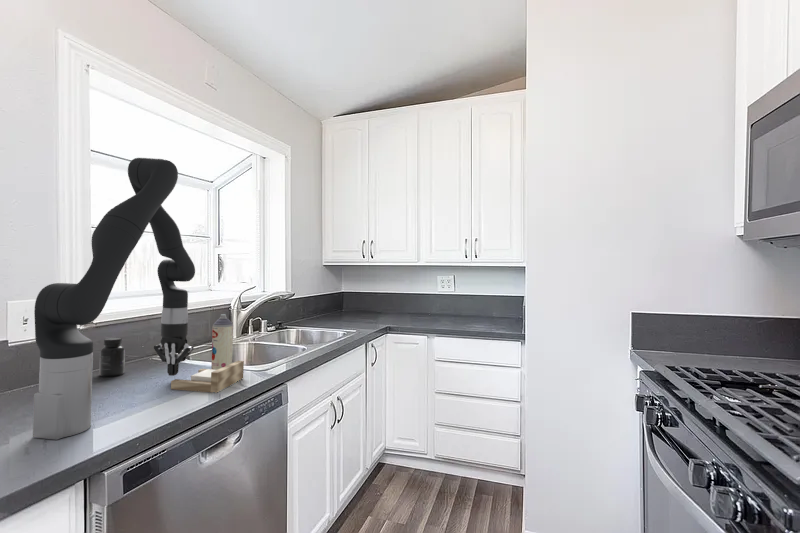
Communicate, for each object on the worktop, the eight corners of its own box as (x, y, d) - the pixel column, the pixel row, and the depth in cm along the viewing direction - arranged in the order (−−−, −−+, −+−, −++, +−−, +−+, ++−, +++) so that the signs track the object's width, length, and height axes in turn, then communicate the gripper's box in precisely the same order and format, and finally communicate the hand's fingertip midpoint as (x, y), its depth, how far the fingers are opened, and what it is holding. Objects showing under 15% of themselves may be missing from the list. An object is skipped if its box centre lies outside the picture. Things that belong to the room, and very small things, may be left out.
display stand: (216, 392, 119) (217, 372, 119) (170, 389, 122) (171, 369, 122) (243, 378, 134) (243, 361, 134) (201, 375, 136) (202, 358, 136)
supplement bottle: (128, 374, 136) (129, 338, 136) (104, 378, 130) (105, 341, 130) (118, 370, 140) (119, 336, 140) (95, 374, 134) (96, 338, 134)
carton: (212, 390, 123) (212, 377, 123) (190, 388, 124) (191, 375, 124) (227, 382, 130) (227, 370, 130) (207, 381, 132) (207, 369, 132)
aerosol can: (209, 368, 146) (211, 313, 145) (230, 366, 149) (231, 313, 149) (212, 373, 140) (214, 316, 140) (233, 371, 144) (235, 315, 143)
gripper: (147, 321, 127) (145, 376, 127) (185, 324, 125) (183, 379, 125) (164, 319, 134) (162, 370, 134) (200, 321, 132) (199, 373, 132)
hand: (172, 375), depth 129 cm, fingers closed
